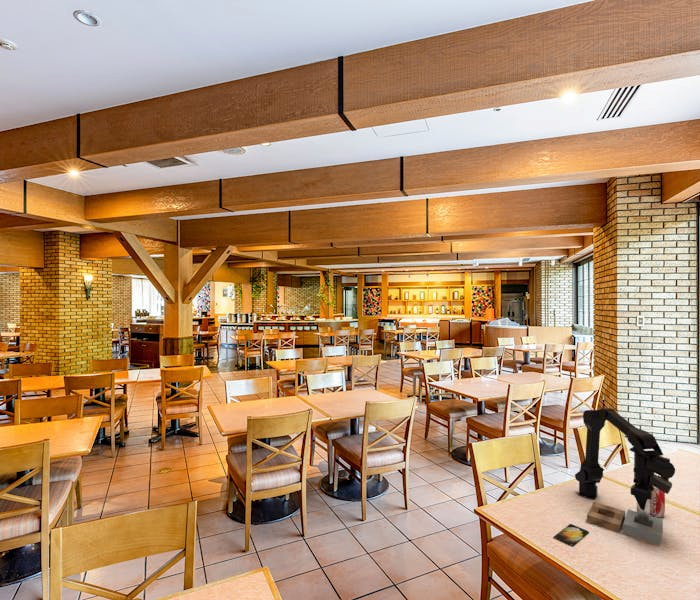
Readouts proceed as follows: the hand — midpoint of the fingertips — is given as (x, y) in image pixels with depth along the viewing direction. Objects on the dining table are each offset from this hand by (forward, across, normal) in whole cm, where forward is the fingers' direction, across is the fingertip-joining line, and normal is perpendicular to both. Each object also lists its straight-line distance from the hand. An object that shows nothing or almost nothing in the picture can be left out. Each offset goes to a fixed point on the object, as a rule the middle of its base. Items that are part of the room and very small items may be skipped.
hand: (643, 507), depth 150 cm
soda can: (+10, +19, -2) cm, 21 cm away
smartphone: (+10, -21, +20) cm, 31 cm away
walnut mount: (+9, 0, +12) cm, 15 cm away
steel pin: (+4, 0, 0) cm, 4 cm away
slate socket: (+9, 0, 0) cm, 9 cm away
